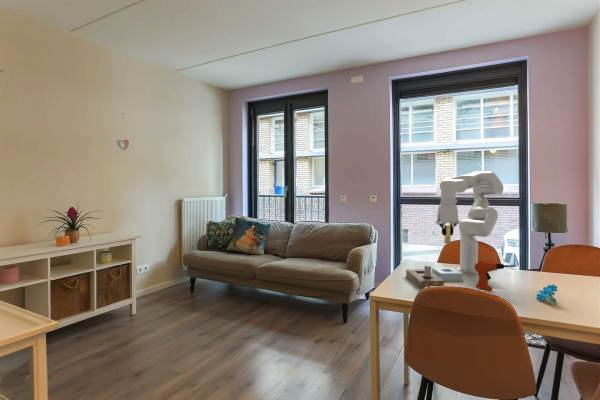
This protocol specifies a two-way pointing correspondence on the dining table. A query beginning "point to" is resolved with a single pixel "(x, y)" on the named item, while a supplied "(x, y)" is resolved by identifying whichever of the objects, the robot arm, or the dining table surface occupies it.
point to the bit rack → (419, 280)
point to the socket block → (448, 274)
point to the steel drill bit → (427, 272)
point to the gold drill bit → (447, 234)
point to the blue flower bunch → (547, 293)
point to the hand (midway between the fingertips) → (447, 234)
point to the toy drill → (484, 276)
